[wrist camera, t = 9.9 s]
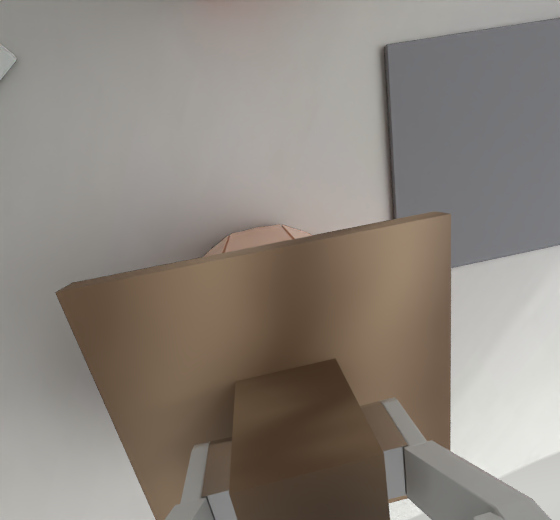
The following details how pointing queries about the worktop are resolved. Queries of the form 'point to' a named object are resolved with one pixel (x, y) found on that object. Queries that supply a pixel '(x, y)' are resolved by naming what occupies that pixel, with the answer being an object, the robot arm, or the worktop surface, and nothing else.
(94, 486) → the worktop surface
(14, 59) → the supplement box
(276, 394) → the lid
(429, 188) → the mat
